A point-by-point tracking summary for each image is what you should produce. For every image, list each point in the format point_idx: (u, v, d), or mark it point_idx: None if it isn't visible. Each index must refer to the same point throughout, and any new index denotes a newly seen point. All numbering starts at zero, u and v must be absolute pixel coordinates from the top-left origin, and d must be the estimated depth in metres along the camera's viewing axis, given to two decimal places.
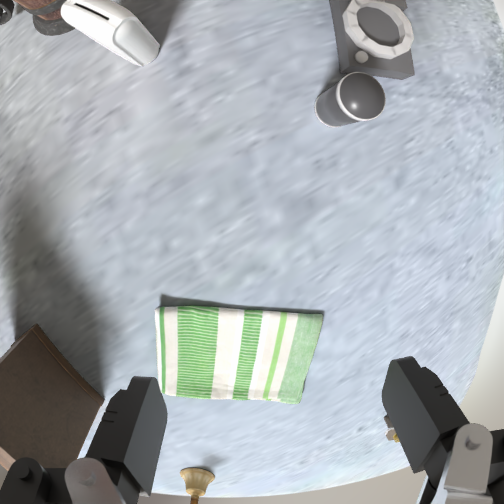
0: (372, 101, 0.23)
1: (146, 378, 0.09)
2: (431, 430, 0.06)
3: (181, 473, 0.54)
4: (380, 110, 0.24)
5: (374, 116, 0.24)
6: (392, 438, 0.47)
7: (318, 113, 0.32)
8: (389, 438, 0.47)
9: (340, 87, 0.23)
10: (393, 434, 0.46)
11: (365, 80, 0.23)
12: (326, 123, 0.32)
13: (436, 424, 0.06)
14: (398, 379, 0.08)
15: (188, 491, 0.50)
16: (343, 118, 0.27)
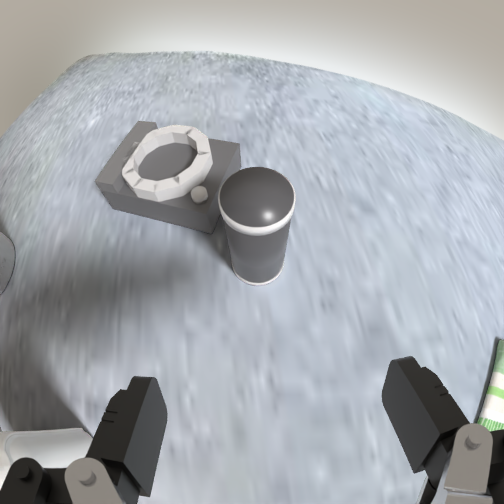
0: (268, 185, 0.19)
1: (146, 378, 0.09)
2: (431, 430, 0.06)
3: None
4: (283, 179, 0.19)
5: (291, 189, 0.19)
6: None
7: (258, 280, 0.25)
8: None
9: (235, 221, 0.18)
10: None
11: (235, 184, 0.19)
12: (275, 275, 0.26)
13: (436, 424, 0.06)
14: (398, 379, 0.08)
15: None
16: (280, 240, 0.20)
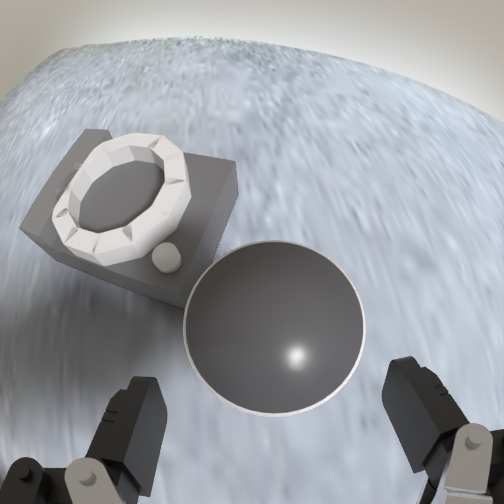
0: (304, 295, 0.08)
1: (146, 378, 0.09)
2: (431, 430, 0.06)
3: None
4: (337, 274, 0.08)
5: (357, 305, 0.08)
6: None
7: None
8: None
9: (225, 396, 0.07)
10: None
11: (222, 292, 0.08)
12: None
13: (436, 424, 0.06)
14: (398, 379, 0.08)
15: None
16: None
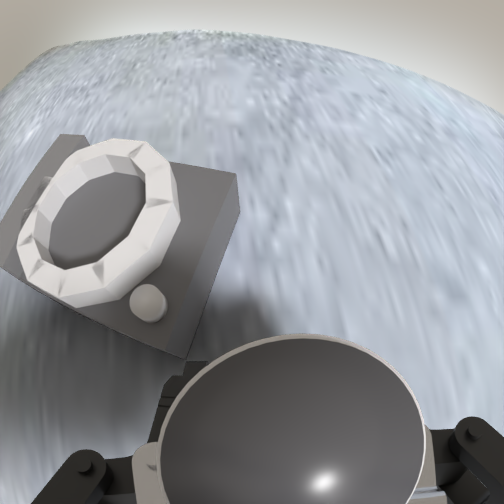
0: (345, 426, 0.04)
1: (200, 362, 0.09)
2: None
3: None
4: (394, 386, 0.04)
5: (419, 430, 0.04)
6: None
7: None
8: None
9: None
10: None
11: (215, 424, 0.04)
12: None
13: None
14: None
15: None
16: None
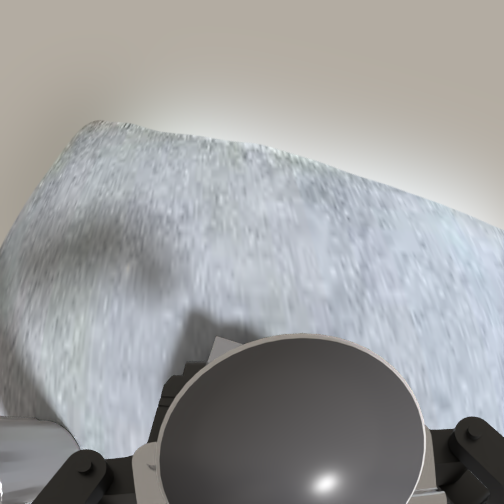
0: (345, 426, 0.04)
1: (200, 362, 0.09)
2: None
3: None
4: (394, 385, 0.04)
5: (419, 430, 0.04)
6: None
7: None
8: None
9: None
10: None
11: (214, 424, 0.04)
12: None
13: None
14: None
15: None
16: None
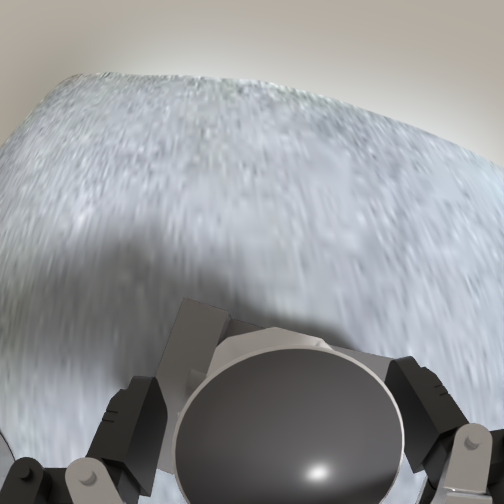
0: (332, 422, 0.05)
1: (146, 378, 0.09)
2: (431, 430, 0.06)
3: None
4: (375, 389, 0.05)
5: (397, 428, 0.05)
6: None
7: None
8: None
9: None
10: None
11: (221, 420, 0.05)
12: None
13: (436, 424, 0.06)
14: (398, 379, 0.08)
15: None
16: None
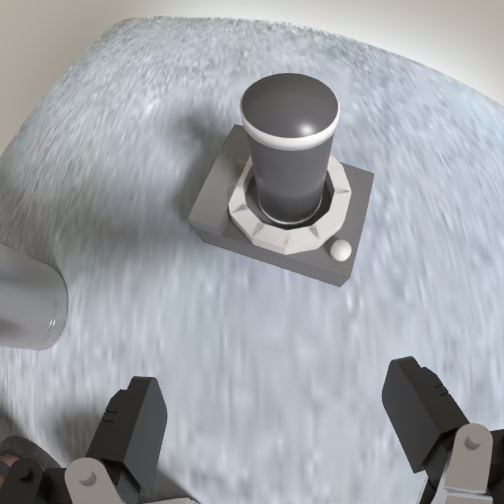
0: (305, 91, 0.13)
1: (146, 378, 0.09)
2: (431, 430, 0.06)
3: None
4: (323, 86, 0.13)
5: (334, 97, 0.13)
6: None
7: (290, 219, 0.20)
8: None
9: (262, 131, 0.13)
10: None
11: (261, 90, 0.13)
12: (311, 213, 0.21)
13: (436, 424, 0.06)
14: (398, 379, 0.08)
15: None
16: (320, 163, 0.15)
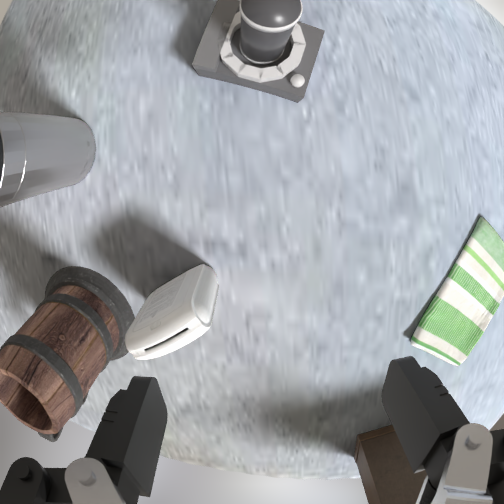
0: None
1: (146, 378, 0.09)
2: (431, 430, 0.06)
3: None
4: None
5: (299, 2, 0.17)
6: None
7: (264, 61, 0.26)
8: None
9: (255, 23, 0.17)
10: None
11: None
12: (278, 57, 0.26)
13: (436, 424, 0.06)
14: (398, 379, 0.08)
15: None
16: (287, 35, 0.20)
